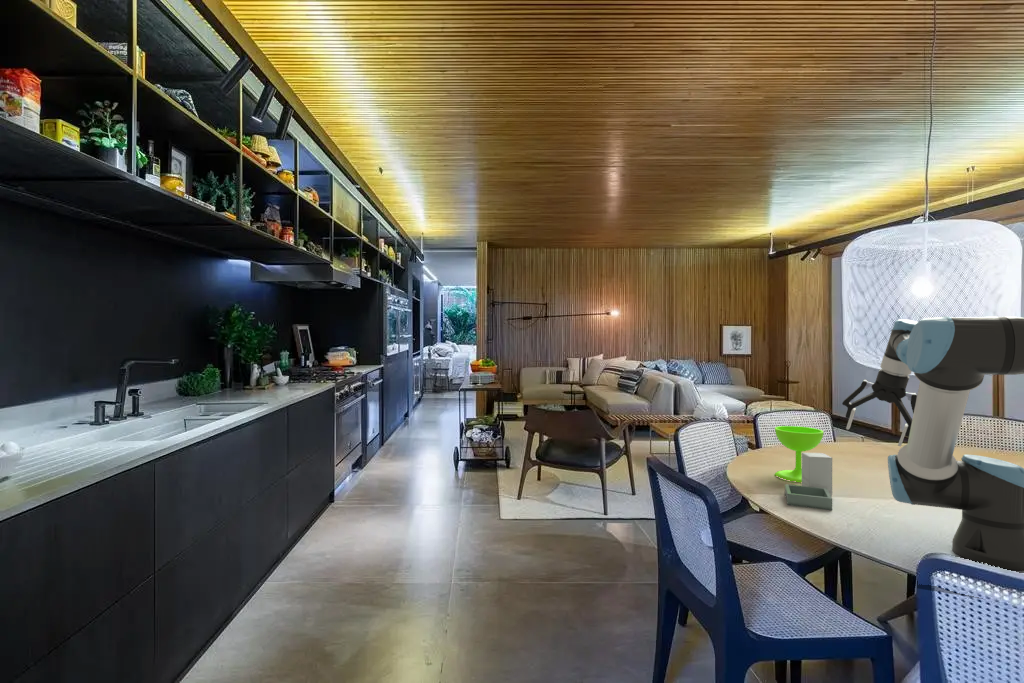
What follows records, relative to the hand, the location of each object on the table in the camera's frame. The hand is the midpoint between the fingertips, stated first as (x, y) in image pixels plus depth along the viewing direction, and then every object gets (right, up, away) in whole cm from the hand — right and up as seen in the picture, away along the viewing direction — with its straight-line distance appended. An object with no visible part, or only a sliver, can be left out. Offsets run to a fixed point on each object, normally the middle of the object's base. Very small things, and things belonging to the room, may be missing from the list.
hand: (873, 436), depth 162 cm
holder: (-17, -22, +6) cm, 28 cm away
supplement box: (-8, -22, +17) cm, 29 cm away
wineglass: (-4, -22, +35) cm, 41 cm away
